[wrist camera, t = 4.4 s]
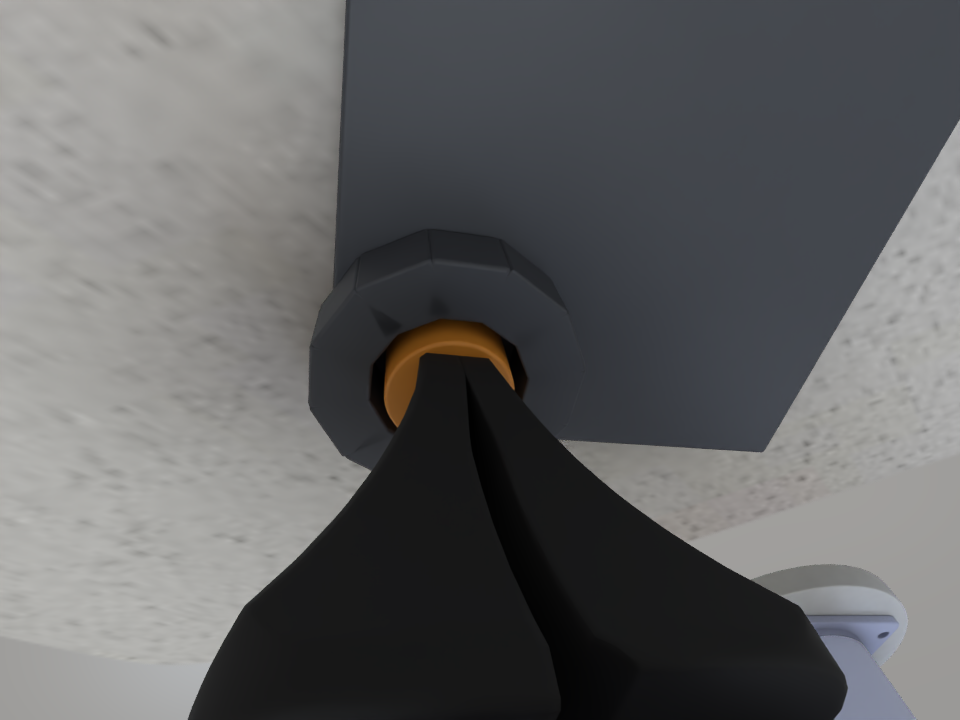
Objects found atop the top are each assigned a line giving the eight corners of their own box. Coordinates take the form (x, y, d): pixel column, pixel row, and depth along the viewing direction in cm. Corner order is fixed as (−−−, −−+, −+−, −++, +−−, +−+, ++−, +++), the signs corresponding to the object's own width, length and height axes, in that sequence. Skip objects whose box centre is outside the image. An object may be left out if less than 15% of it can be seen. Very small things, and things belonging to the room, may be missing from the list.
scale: (735, 428, 17) (792, 502, 15) (322, 399, 15) (306, 481, 12) (1001, -65, 11) (1184, -84, 8) (347, -259, 8) (324, -370, 6)
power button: (491, 407, 13) (500, 451, 12) (380, 398, 13) (378, 444, 11) (514, 310, 12) (528, 348, 11) (391, 297, 11) (390, 335, 10)
